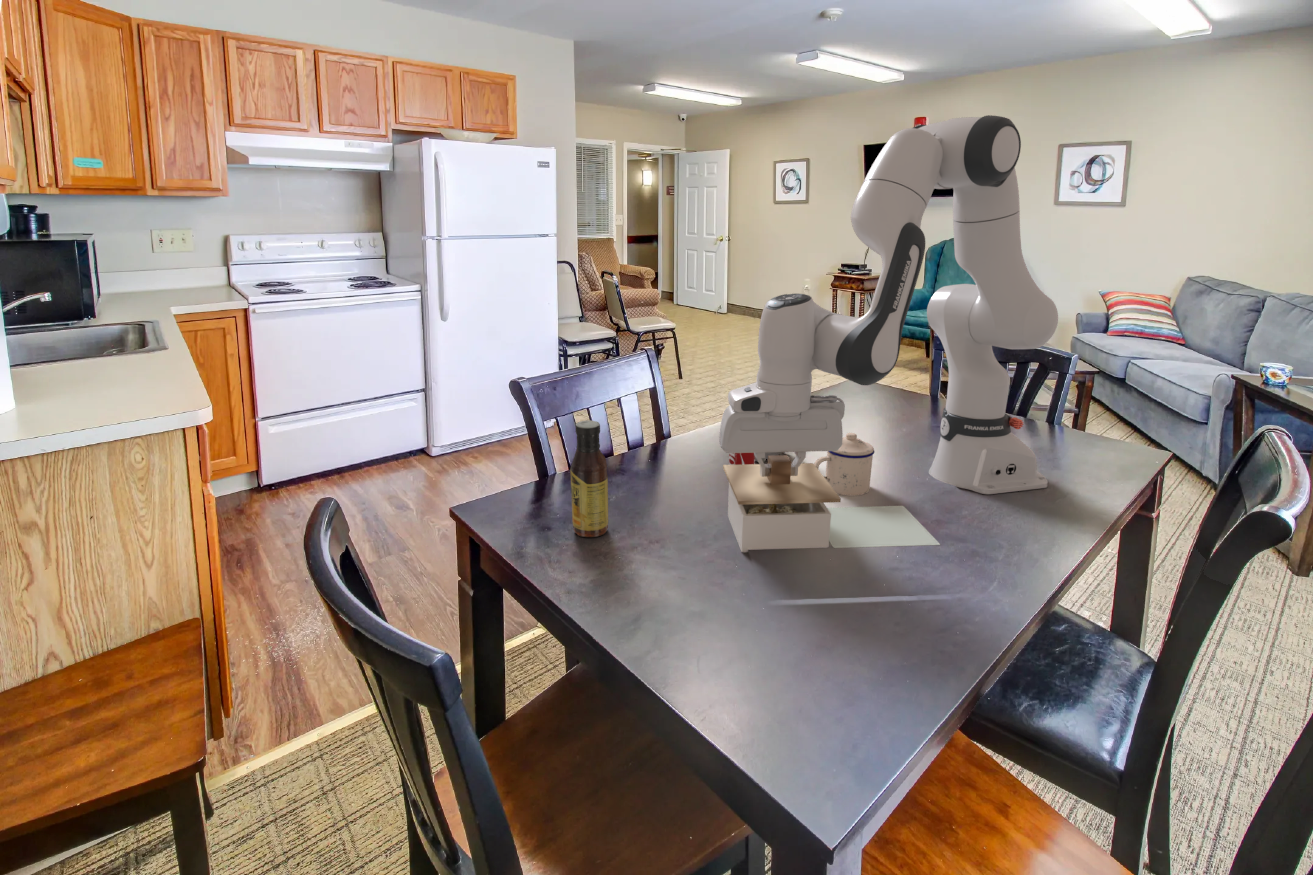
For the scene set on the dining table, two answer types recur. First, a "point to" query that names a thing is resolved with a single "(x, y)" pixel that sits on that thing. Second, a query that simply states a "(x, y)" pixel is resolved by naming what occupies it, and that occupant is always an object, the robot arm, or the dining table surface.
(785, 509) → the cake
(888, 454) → the dining table surface
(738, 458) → the soda can
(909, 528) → the mat
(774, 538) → the white square box
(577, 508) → the sauce bottle
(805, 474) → the lid
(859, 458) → the teacup with lid
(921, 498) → the dining table surface
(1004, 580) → the dining table surface
